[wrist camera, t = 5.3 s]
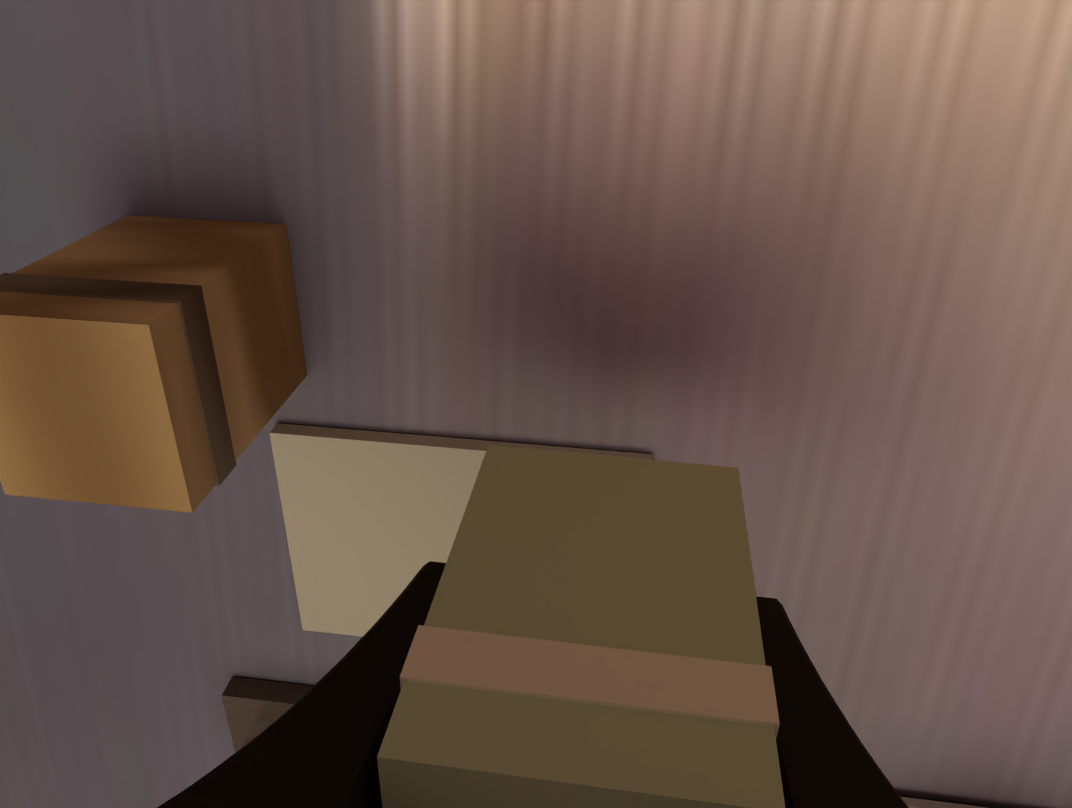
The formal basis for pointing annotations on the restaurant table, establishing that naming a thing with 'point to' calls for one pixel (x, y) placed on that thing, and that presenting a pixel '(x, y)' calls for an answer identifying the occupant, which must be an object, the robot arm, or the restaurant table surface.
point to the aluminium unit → (257, 705)
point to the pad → (372, 513)
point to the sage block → (589, 646)
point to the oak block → (145, 360)
